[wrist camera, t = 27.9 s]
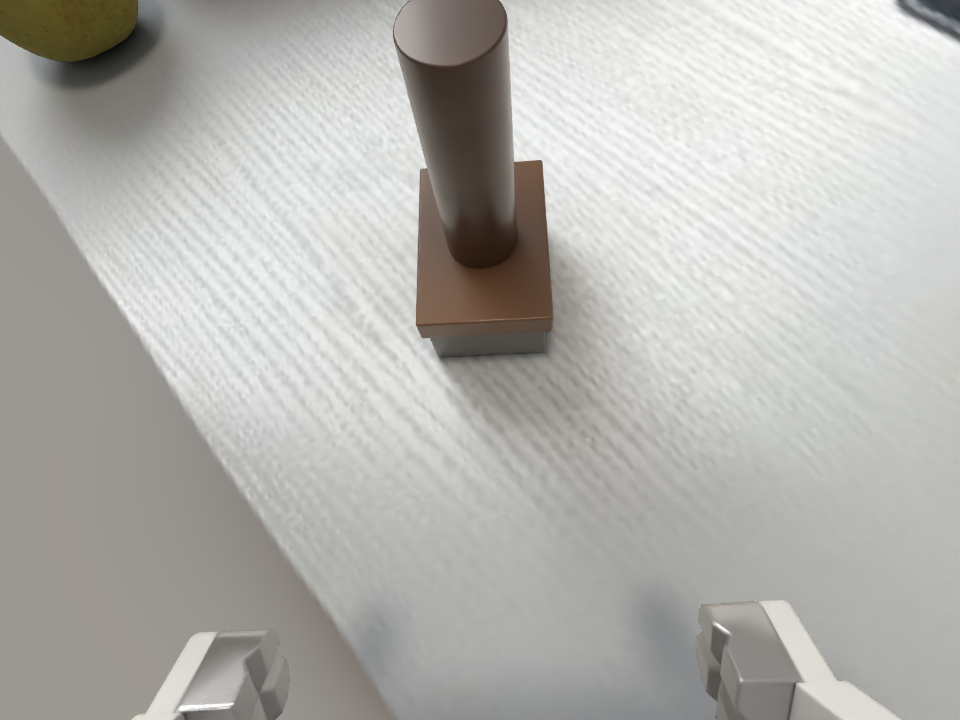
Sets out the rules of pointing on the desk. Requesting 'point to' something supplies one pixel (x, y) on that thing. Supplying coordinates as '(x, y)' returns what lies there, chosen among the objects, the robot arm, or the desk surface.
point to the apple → (67, 26)
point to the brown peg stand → (473, 185)
